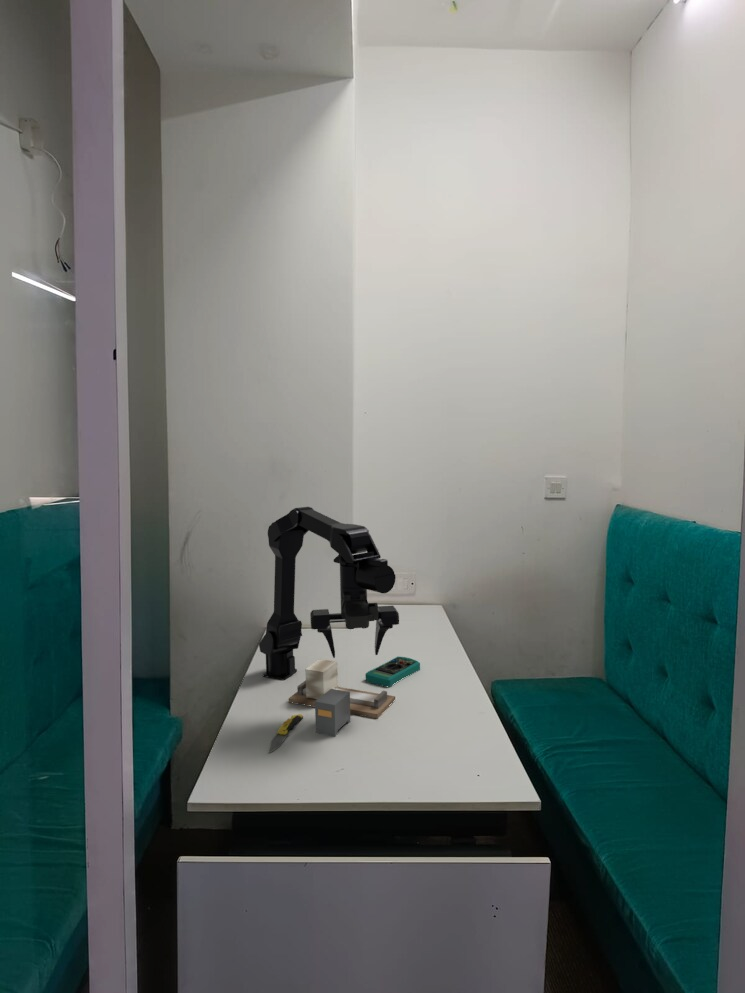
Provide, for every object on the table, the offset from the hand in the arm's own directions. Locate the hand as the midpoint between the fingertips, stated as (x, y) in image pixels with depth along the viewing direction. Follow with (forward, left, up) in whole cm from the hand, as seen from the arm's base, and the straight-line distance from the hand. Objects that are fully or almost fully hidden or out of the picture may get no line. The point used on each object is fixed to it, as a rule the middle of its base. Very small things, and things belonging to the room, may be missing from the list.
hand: (355, 655), depth 141 cm
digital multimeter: (0, +23, -13) cm, 26 cm away
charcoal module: (-1, -8, -13) cm, 15 cm away
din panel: (-5, +4, -13) cm, 14 cm away
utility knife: (-9, -15, -13) cm, 22 cm away
